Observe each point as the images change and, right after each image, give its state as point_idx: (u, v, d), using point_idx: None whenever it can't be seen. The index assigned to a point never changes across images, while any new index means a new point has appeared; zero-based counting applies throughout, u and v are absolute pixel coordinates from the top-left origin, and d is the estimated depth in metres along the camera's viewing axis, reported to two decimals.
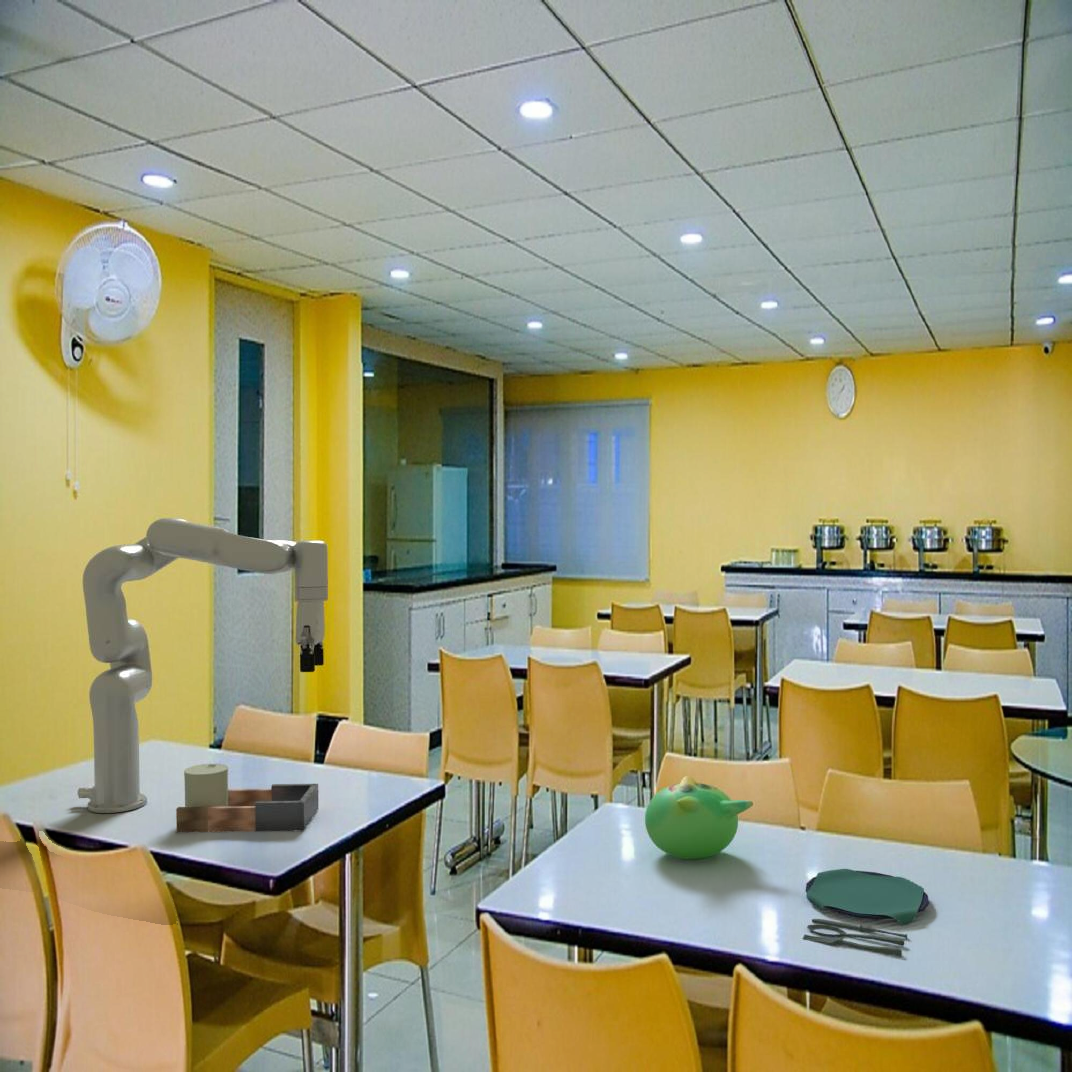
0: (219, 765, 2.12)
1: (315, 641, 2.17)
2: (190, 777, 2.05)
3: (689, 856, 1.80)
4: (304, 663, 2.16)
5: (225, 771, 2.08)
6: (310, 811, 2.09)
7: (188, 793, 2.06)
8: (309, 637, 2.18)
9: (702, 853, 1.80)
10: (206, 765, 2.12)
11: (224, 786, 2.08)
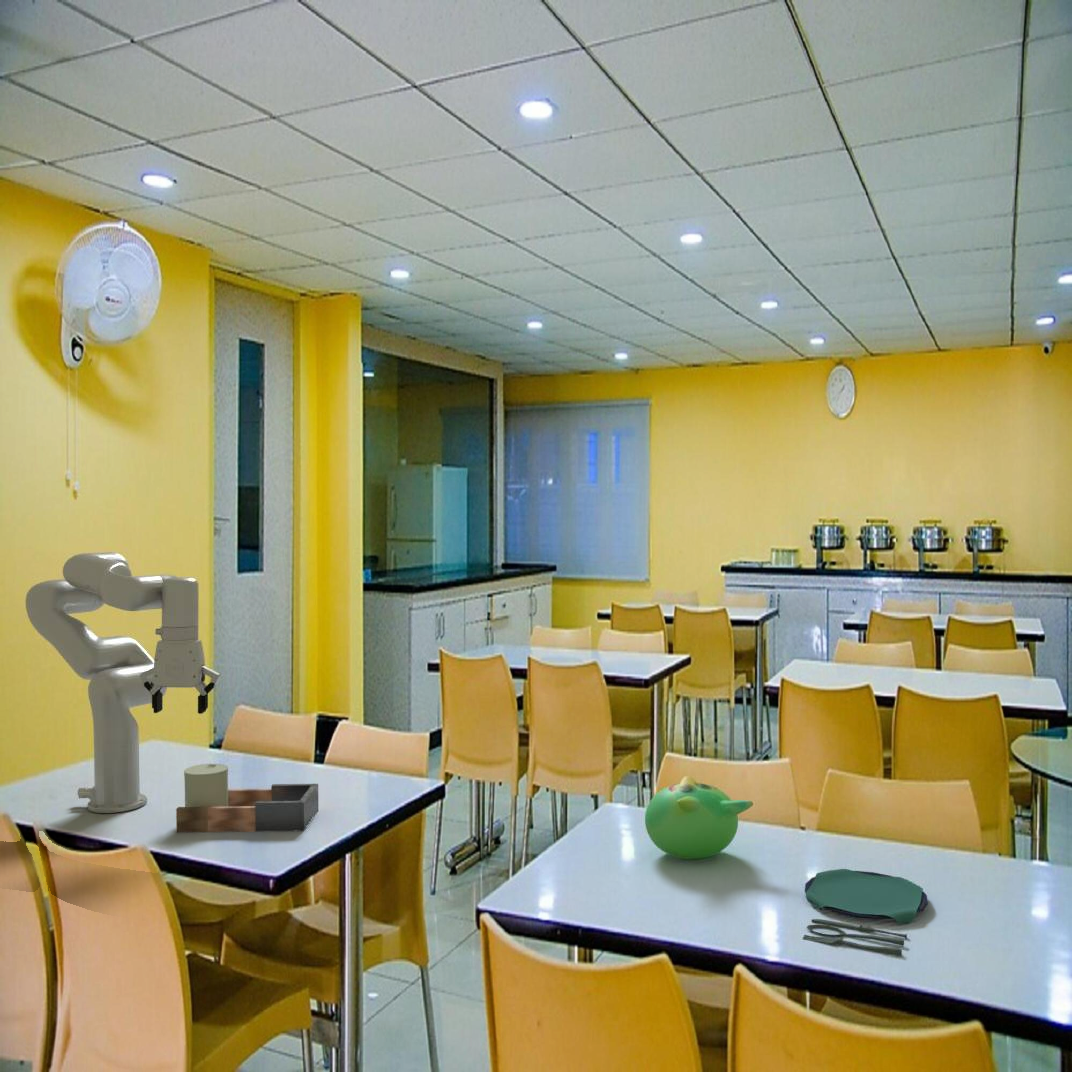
0: (219, 765, 2.12)
1: None
2: (190, 777, 2.05)
3: (689, 856, 1.80)
4: (206, 703, 2.10)
5: (225, 771, 2.08)
6: (310, 811, 2.09)
7: (188, 793, 2.06)
8: None
9: (702, 853, 1.80)
10: (206, 765, 2.12)
11: (224, 786, 2.08)
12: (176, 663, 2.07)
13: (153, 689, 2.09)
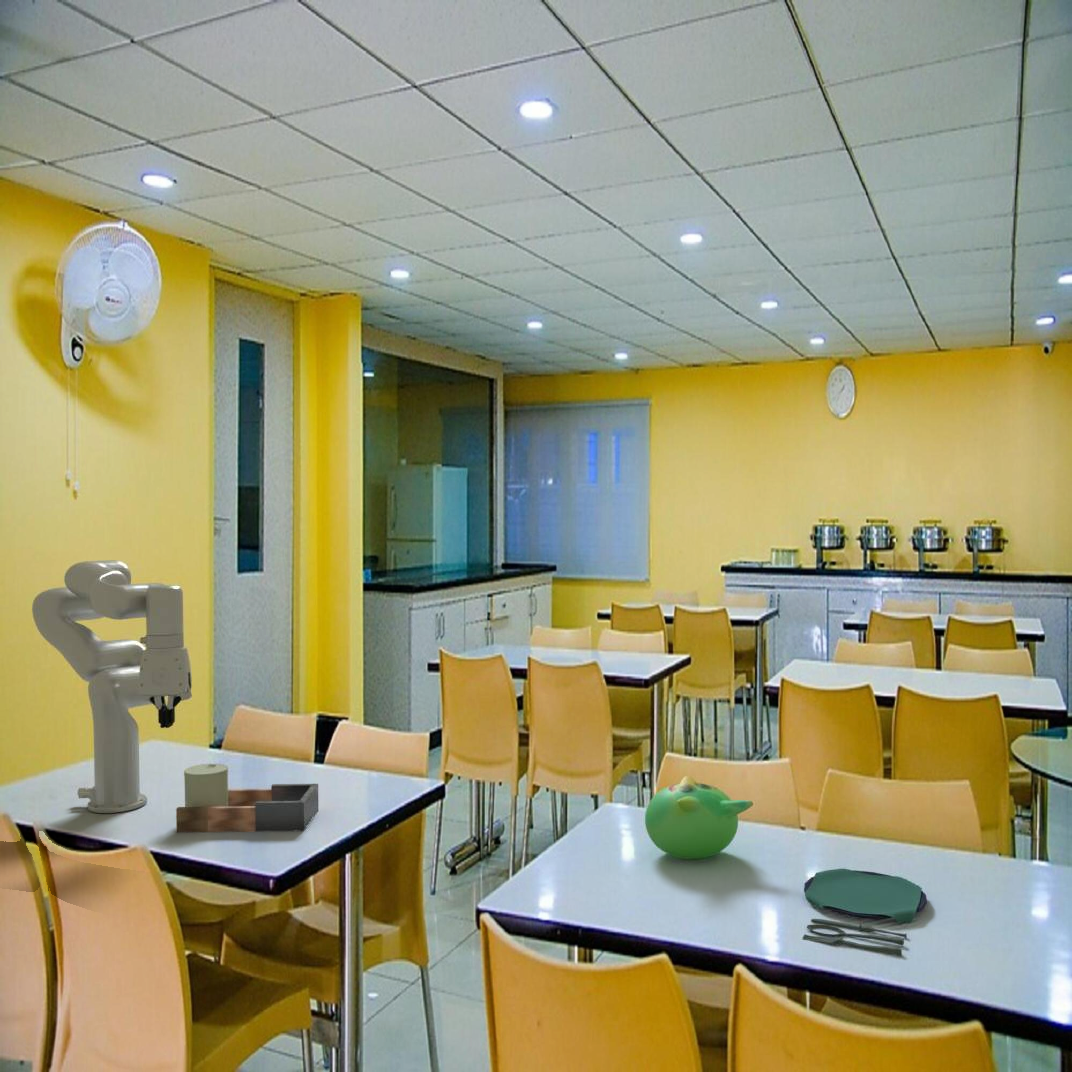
0: (219, 765, 2.12)
1: None
2: (190, 777, 2.05)
3: (689, 856, 1.80)
4: (172, 717, 2.08)
5: (225, 771, 2.08)
6: (310, 811, 2.09)
7: (188, 793, 2.06)
8: None
9: (702, 853, 1.80)
10: (206, 765, 2.12)
11: (224, 786, 2.08)
12: (162, 671, 2.06)
13: (157, 704, 2.07)
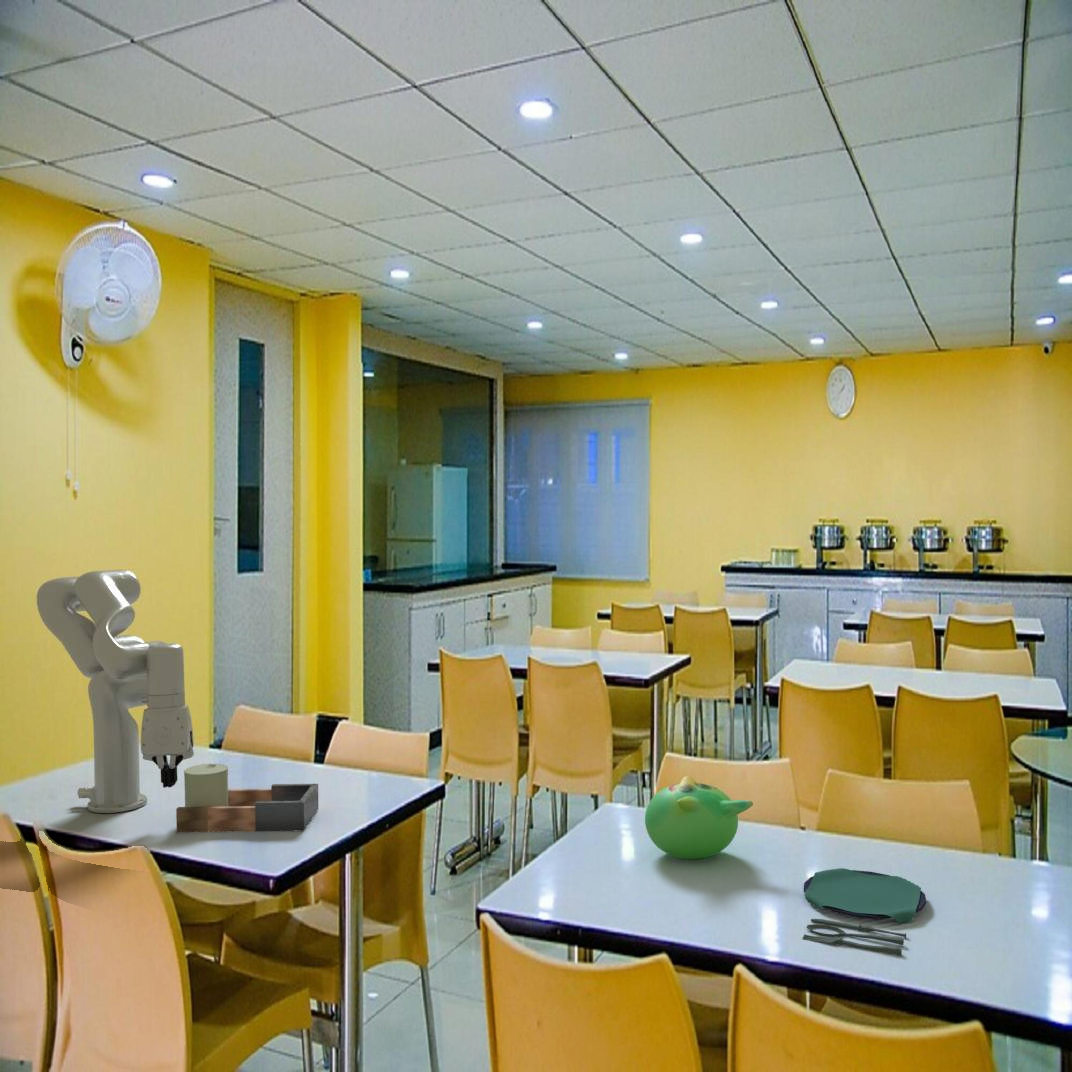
0: (219, 765, 2.12)
1: None
2: (190, 777, 2.05)
3: (689, 856, 1.80)
4: (175, 776, 2.08)
5: (225, 771, 2.08)
6: (310, 811, 2.09)
7: (188, 793, 2.06)
8: None
9: (702, 853, 1.80)
10: (206, 765, 2.12)
11: (224, 786, 2.08)
12: (164, 731, 2.06)
13: (159, 763, 2.07)
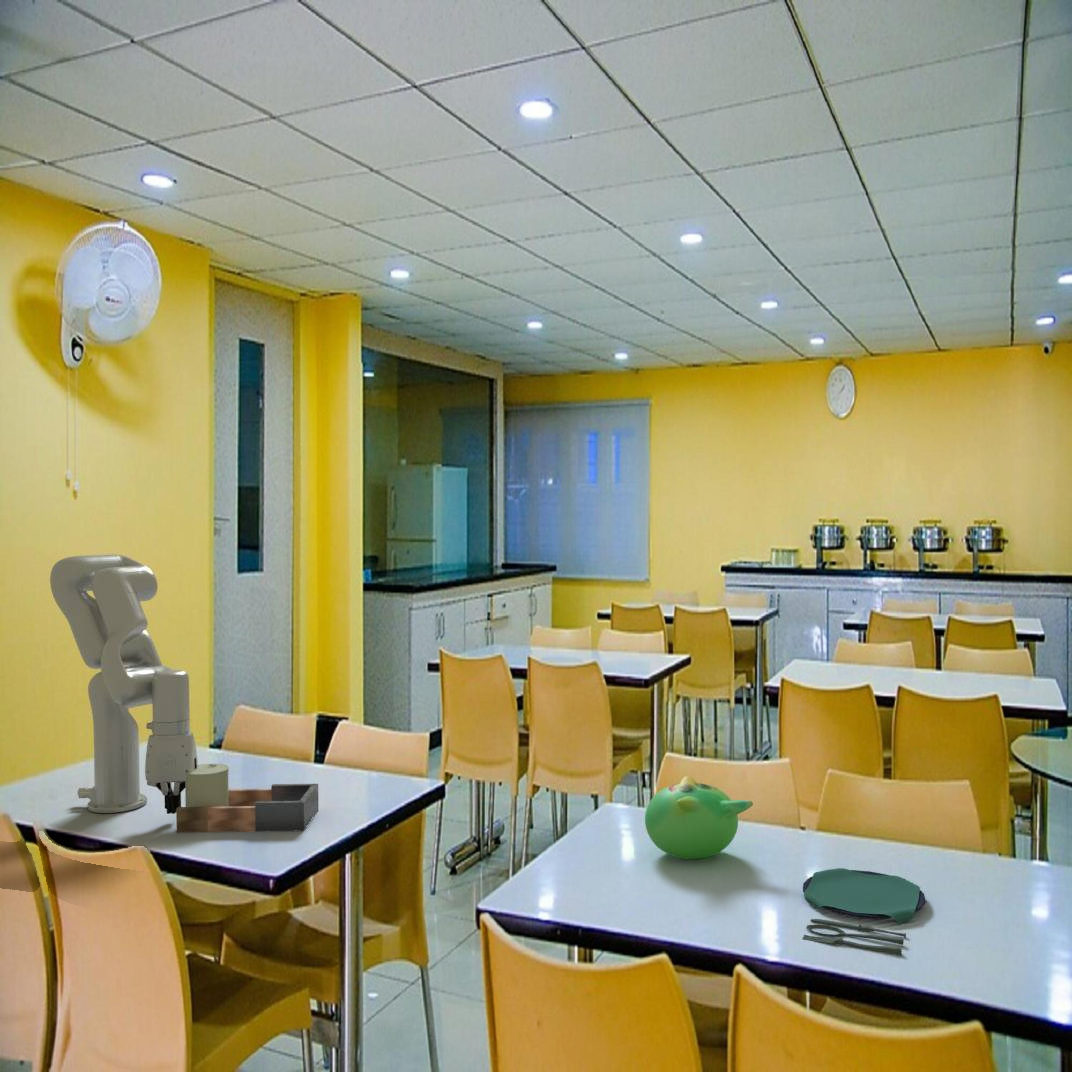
0: (220, 765, 2.12)
1: None
2: (190, 777, 2.05)
3: (689, 856, 1.80)
4: (179, 803, 2.09)
5: (226, 771, 2.08)
6: (310, 811, 2.09)
7: (189, 793, 2.06)
8: None
9: (702, 853, 1.80)
10: (207, 765, 2.12)
11: (224, 786, 2.08)
12: (168, 758, 2.06)
13: (163, 790, 2.08)
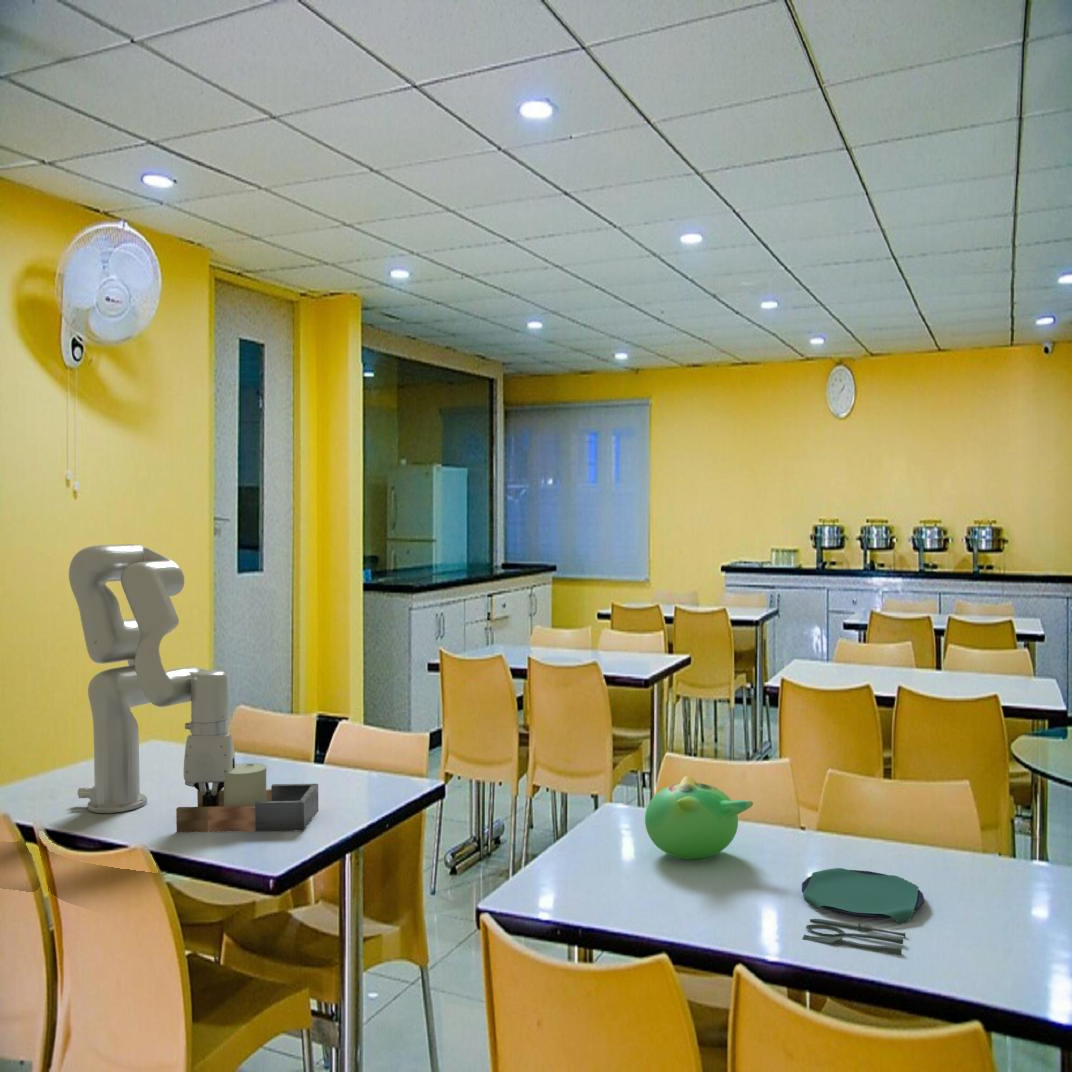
0: (257, 764, 2.13)
1: None
2: (229, 776, 2.05)
3: (689, 856, 1.80)
4: (216, 803, 2.09)
5: (264, 770, 2.09)
6: (310, 811, 2.09)
7: (228, 792, 2.06)
8: None
9: (702, 853, 1.80)
10: (244, 764, 2.13)
11: (263, 785, 2.08)
12: (207, 758, 2.06)
13: (201, 790, 2.08)
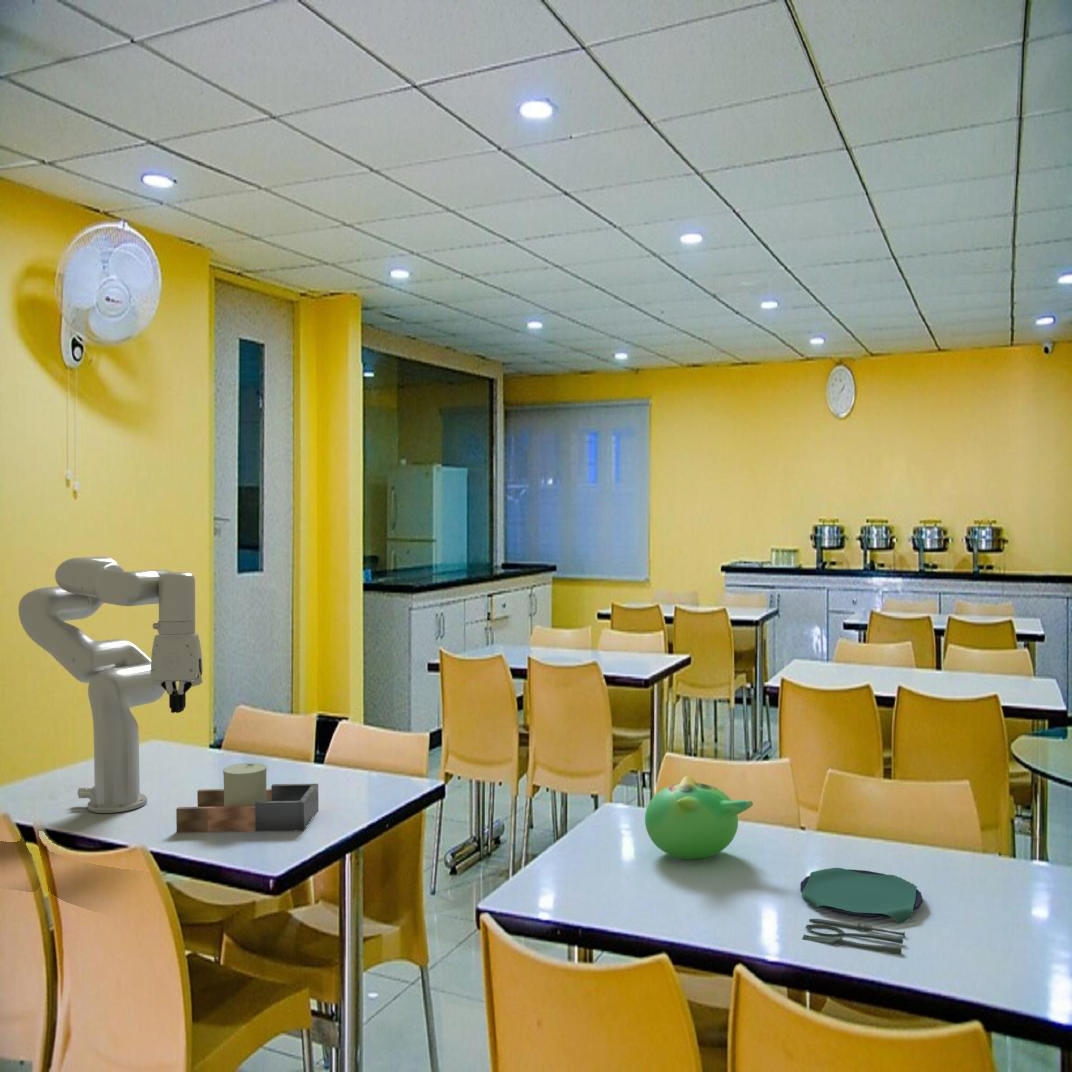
0: (257, 764, 2.13)
1: None
2: (229, 776, 2.05)
3: (689, 856, 1.80)
4: (183, 702, 2.11)
5: (264, 770, 2.09)
6: (310, 811, 2.09)
7: (228, 793, 2.06)
8: None
9: (702, 853, 1.80)
10: (244, 764, 2.13)
11: (263, 785, 2.08)
12: (173, 657, 2.09)
13: (168, 689, 2.10)
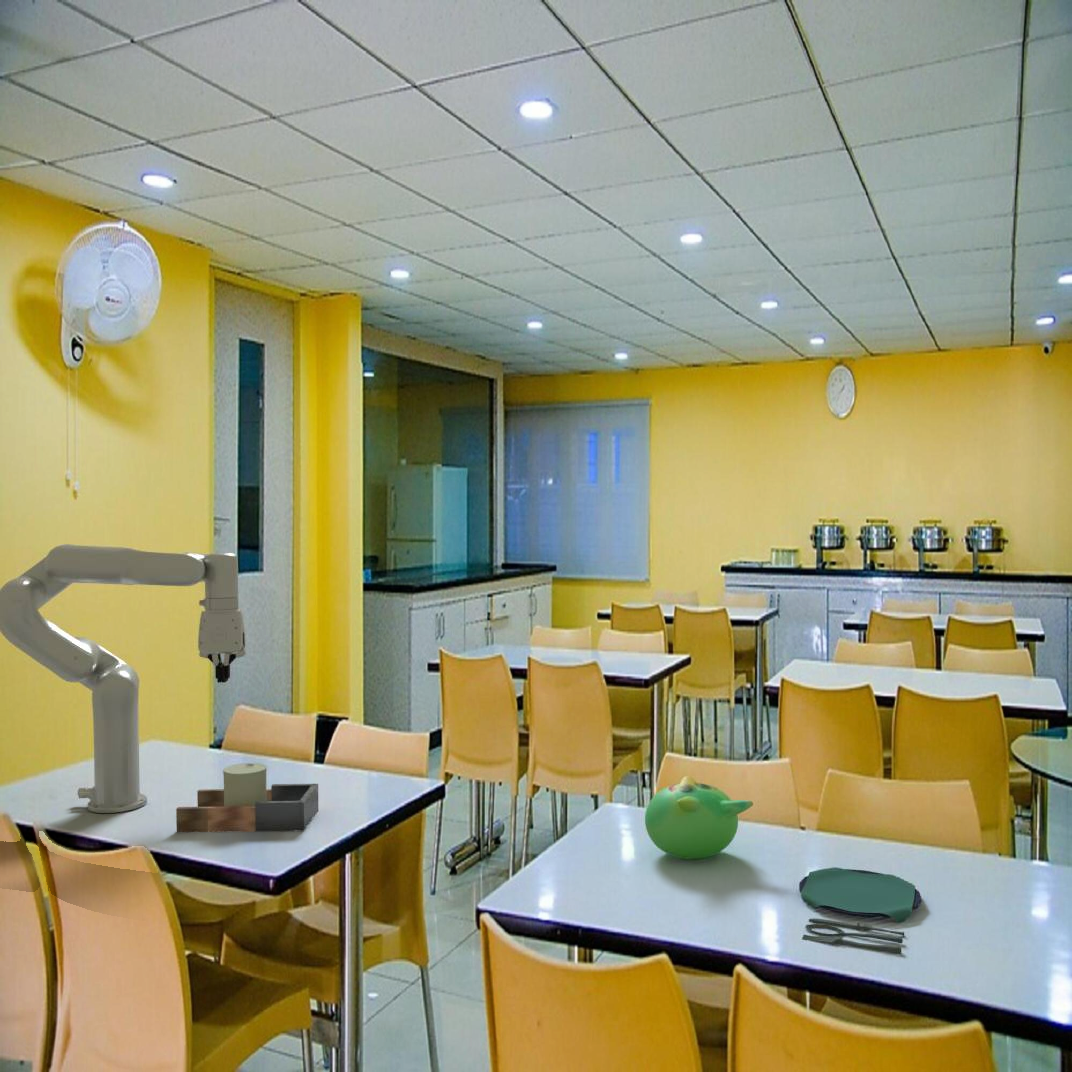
0: (257, 764, 2.13)
1: None
2: (229, 776, 2.05)
3: (689, 856, 1.80)
4: (228, 673, 2.29)
5: (264, 770, 2.09)
6: (310, 811, 2.09)
7: (228, 793, 2.06)
8: None
9: (702, 853, 1.80)
10: (244, 764, 2.13)
11: (263, 785, 2.08)
12: (219, 631, 2.26)
13: (214, 661, 2.28)
